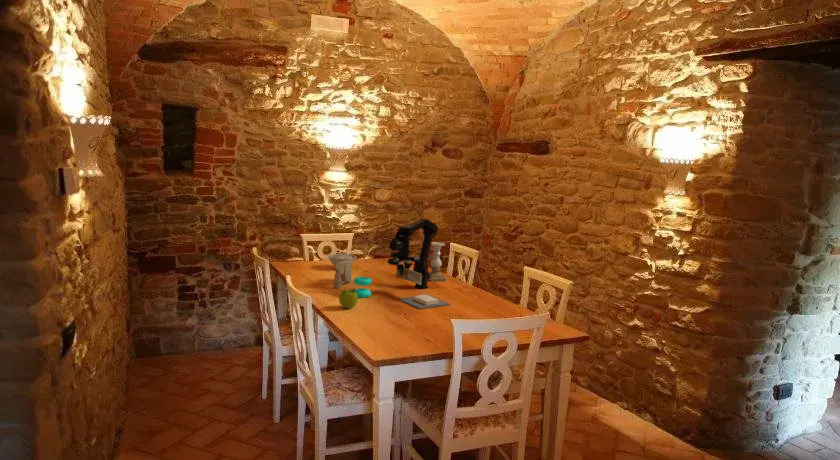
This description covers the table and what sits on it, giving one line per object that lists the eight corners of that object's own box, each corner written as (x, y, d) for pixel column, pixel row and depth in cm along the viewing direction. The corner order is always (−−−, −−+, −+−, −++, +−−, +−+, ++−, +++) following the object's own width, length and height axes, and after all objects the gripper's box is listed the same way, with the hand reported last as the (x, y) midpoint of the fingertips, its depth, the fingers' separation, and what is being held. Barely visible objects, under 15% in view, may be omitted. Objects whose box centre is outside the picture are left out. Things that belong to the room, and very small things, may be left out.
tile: (425, 294, 292) (439, 299, 283) (425, 298, 293) (438, 303, 283) (413, 296, 288) (426, 301, 278) (413, 299, 288) (426, 305, 278)
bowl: (328, 265, 368) (328, 251, 366) (356, 266, 370) (356, 252, 369) (326, 271, 349) (327, 256, 347) (356, 272, 351) (356, 257, 350)
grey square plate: (428, 296, 301) (428, 294, 301) (450, 305, 285) (450, 303, 285) (398, 299, 289) (398, 298, 289) (419, 309, 273) (419, 307, 273)
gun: (338, 289, 304) (339, 263, 303) (332, 289, 305) (334, 263, 304) (351, 284, 328) (353, 260, 327) (346, 283, 329) (348, 259, 328)
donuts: (353, 275, 297) (371, 276, 298) (352, 293, 298) (370, 293, 300) (354, 280, 287) (372, 280, 289) (353, 298, 288) (371, 298, 290)
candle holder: (440, 277, 350) (442, 241, 347) (446, 281, 340) (448, 244, 337) (424, 277, 347) (426, 241, 344) (430, 281, 336) (432, 244, 333)
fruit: (358, 310, 266) (359, 290, 265) (340, 310, 264) (340, 291, 262) (355, 305, 275) (356, 286, 274) (337, 305, 272) (338, 286, 271)
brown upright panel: (399, 275, 308) (400, 265, 307) (422, 284, 291) (422, 273, 290) (396, 276, 307) (396, 266, 306) (418, 284, 289) (419, 274, 289)
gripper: (409, 245, 313) (408, 271, 315) (382, 247, 302) (381, 273, 304) (420, 248, 304) (419, 274, 306) (393, 250, 293) (392, 278, 295)
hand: (403, 275), depth 303 cm, fingers closed on brown upright panel, 2 cm apart
